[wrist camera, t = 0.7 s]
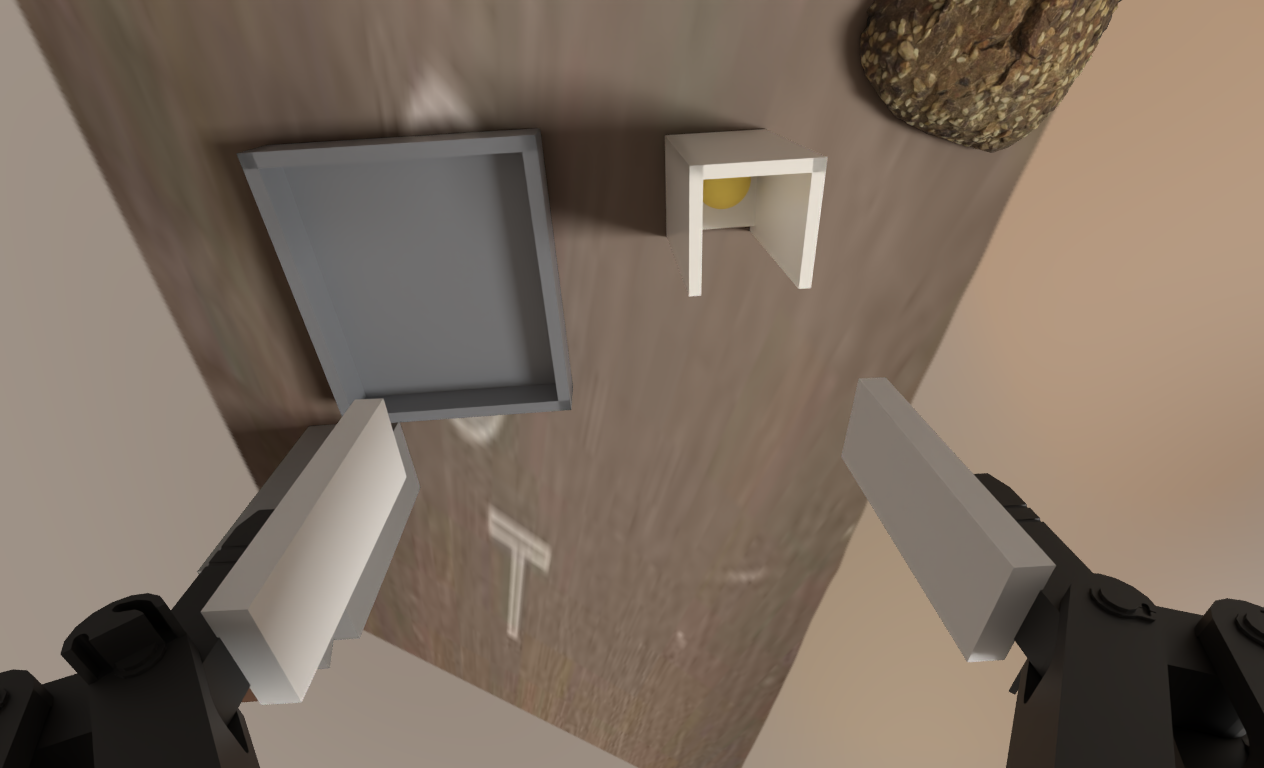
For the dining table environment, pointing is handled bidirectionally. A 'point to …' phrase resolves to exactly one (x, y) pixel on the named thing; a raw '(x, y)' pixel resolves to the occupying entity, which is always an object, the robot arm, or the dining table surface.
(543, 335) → the tray
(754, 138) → the white u-shaped stool
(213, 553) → the perfume bottle
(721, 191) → the ball
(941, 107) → the bread roll
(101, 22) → the dining table surface
